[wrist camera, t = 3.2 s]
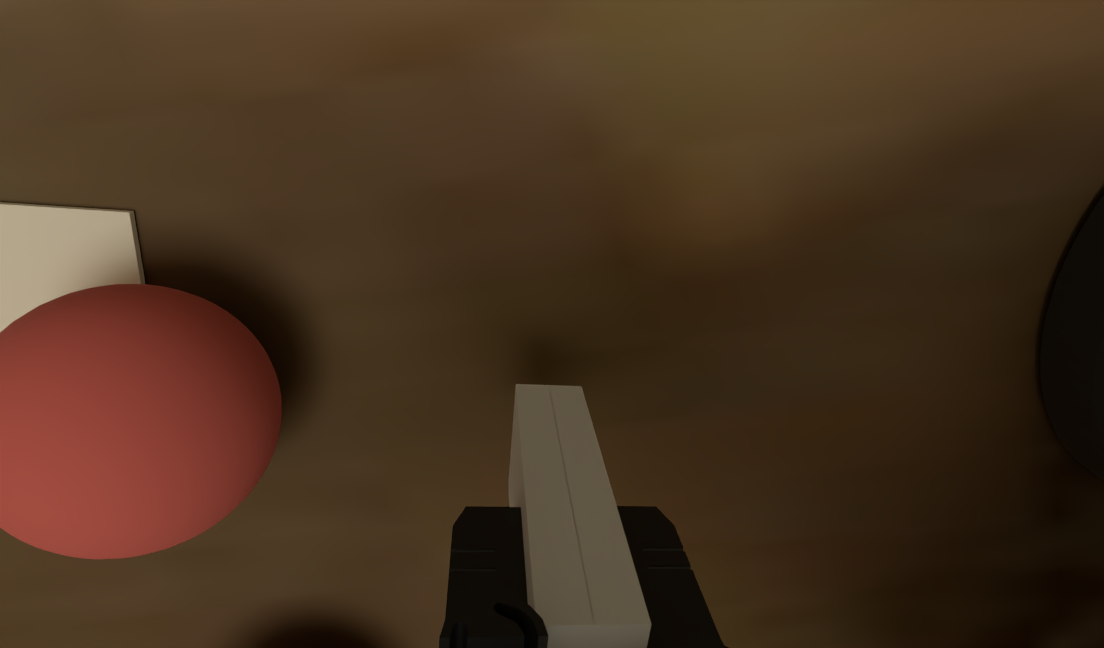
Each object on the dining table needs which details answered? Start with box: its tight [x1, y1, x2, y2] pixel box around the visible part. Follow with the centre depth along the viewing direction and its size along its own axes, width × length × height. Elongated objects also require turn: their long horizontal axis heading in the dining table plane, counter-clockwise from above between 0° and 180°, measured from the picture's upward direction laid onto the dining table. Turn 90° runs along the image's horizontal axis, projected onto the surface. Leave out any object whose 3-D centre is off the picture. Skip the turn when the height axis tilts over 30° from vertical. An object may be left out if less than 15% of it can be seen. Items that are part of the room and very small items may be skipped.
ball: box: [0, 284, 282, 559], centre depth 14 cm, size 6×6×6 cm
